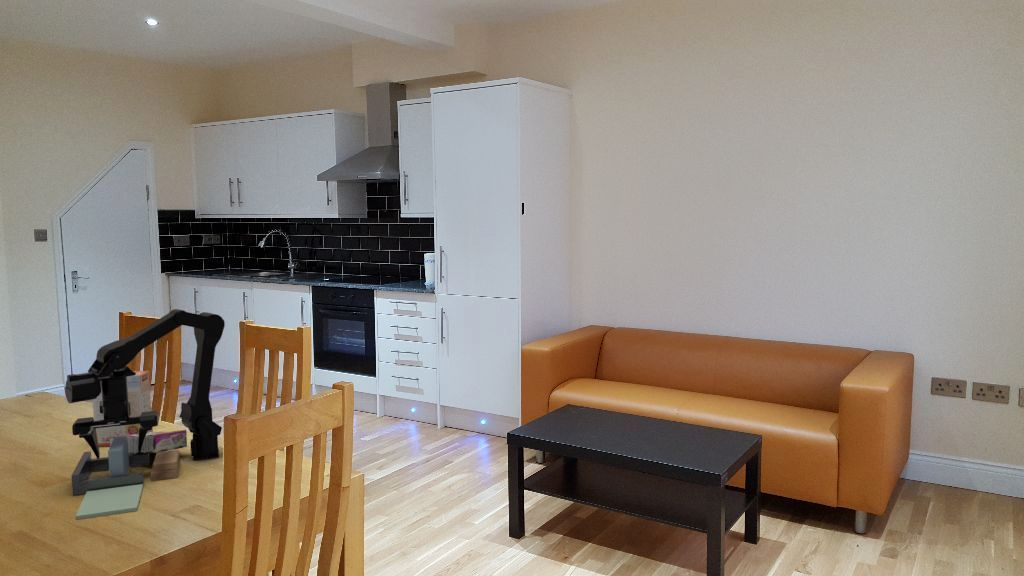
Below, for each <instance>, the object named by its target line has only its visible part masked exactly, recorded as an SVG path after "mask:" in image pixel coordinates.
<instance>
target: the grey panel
mask: <svg viewBox="0 0 1024 576" xmlns="http://www.w3.org/2000/svg"><path fill="white" fill-rule="evenodd" d="M107 455H108V456H107V457H108V459H109V470H108V472H109V473H108V474H109V477H110V476H118V475H126V474H129V472H130V468H131V467H129V453H128V438H127V436H121V437H114V439H113V441H112V444H111V446H109V448H108V451H107Z"/></svg>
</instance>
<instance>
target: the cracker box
mask: <svg viewBox="0 0 1024 576" xmlns="http://www.w3.org/2000/svg"><path fill="white" fill-rule="evenodd" d="M132 371H133V372H135V373H136V375H134V376H128V377H127V388H128V402H130V407H131V415H130V416H129V417H137V416H140V415H141V412H148V411H152V401H151V400H152V399H151V397H152V396H151V385H150V371H149V370H140V371H139V370H132ZM100 384H101V381H100ZM100 401H102V390H101V393H100V396H97V398H96V399H92V410H93V411H92V412H93V413H92V414H93V418H94V421H98V420H104V418H103V414H101V413H100ZM121 422H122V421H121ZM123 422H126V421H123ZM112 423H113V422H112ZM108 424H109V423H108ZM140 426H141V425H140V424H132V425H123V426H113V427H104V428H96V437H97V442H98V447H110V442H109V441H110V438H112V437H118V436H124V435H131V434H137V433H139V429H140ZM153 429H154V428H153ZM153 429H152V430H149V431H147V433H148V432H154V431H153Z"/></svg>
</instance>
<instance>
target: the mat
mask: <svg viewBox="0 0 1024 576" xmlns="http://www.w3.org/2000/svg"><path fill="white" fill-rule="evenodd" d="M143 490H144V486H143V484H139V485H132V486H124V487H117V488H109V489H102V490H94V491H87V492H86V494H84V497H83V499H82V501H81V504H80V506H79V508H78V510H77V512H76V514H75V520H83V519H84V520H85V519H90V518H97V517H104V516H109V515H118V514H124V513H125V514H126V513H131V512H138V508H139V506H140V502H139V501H141V498H142V494H143ZM140 497H141V498H140Z"/></svg>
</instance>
